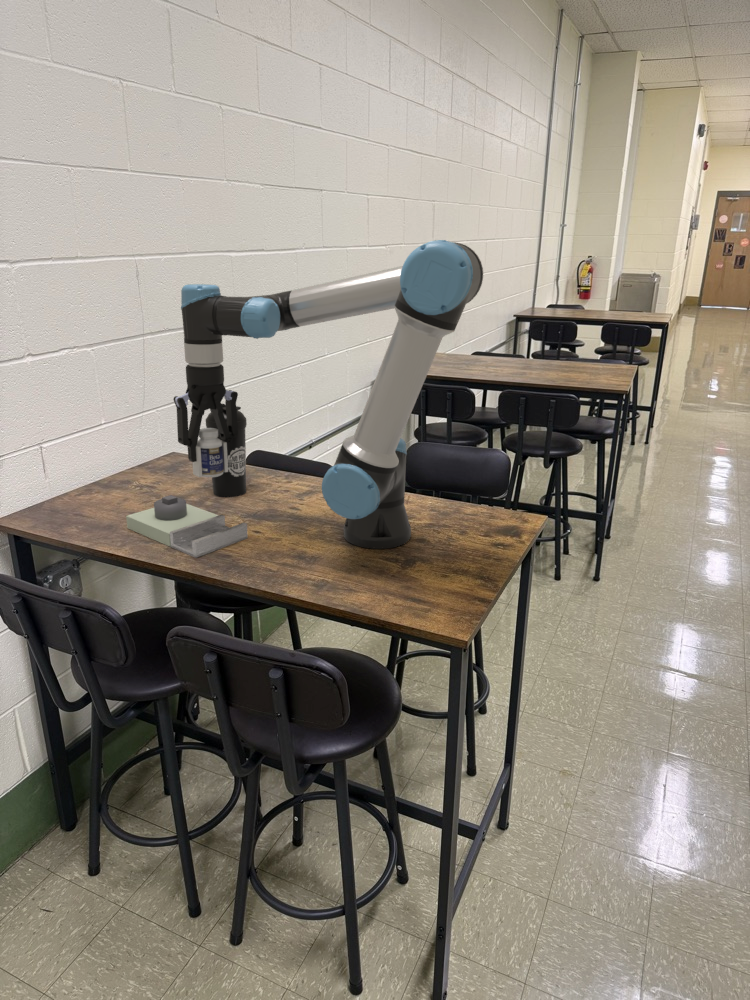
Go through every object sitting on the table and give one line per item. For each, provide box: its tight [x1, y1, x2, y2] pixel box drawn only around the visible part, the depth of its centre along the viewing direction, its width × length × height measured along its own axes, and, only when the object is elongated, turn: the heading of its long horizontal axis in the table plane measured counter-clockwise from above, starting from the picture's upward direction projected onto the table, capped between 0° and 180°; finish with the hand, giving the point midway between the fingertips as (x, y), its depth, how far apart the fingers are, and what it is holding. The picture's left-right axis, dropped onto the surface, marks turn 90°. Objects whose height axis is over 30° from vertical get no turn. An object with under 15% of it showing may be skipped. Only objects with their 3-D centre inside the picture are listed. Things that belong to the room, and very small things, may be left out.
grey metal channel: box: [170, 514, 249, 559], centre depth 149 cm, size 8×14×4 cm, turn 142°
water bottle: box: [205, 403, 247, 498], centre depth 177 cm, size 10×10×23 cm
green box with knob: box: [125, 494, 220, 548], centre depth 155 cm, size 16×14×7 cm
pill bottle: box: [197, 427, 223, 478], centre depth 146 cm, size 5×5×10 cm
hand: (210, 472), depth 147 cm, fingers closed on pill bottle, 5 cm apart
